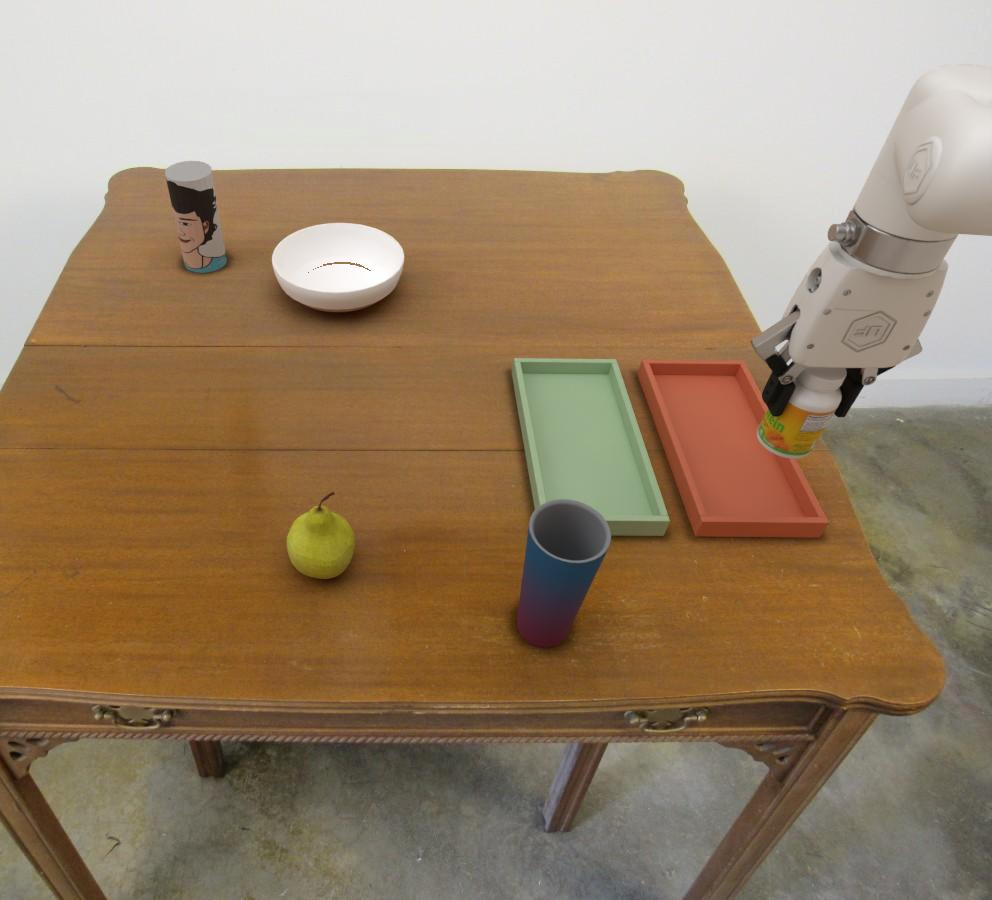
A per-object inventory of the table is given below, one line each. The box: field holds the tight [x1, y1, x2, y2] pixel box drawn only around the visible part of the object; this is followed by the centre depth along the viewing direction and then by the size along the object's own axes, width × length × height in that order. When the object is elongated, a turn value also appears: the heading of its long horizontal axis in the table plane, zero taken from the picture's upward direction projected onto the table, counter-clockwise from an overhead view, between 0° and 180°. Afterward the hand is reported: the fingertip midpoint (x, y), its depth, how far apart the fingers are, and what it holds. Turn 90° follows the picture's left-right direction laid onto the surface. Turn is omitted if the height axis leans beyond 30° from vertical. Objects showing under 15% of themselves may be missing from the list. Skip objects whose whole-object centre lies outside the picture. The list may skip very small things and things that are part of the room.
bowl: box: [271, 222, 405, 313], centre depth 111 cm, size 20×20×6 cm
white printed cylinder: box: [164, 160, 228, 274], centre depth 113 cm, size 7×7×15 cm
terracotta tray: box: [636, 358, 830, 539], centre depth 89 cm, size 28×14×3 cm, turn 0°
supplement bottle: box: [757, 367, 847, 460], centre depth 72 cm, size 5×5×10 cm
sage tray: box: [511, 357, 671, 537], centre depth 89 cm, size 28×14×3 cm, turn 0°
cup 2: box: [516, 499, 612, 649], centre depth 67 cm, size 7×7×15 cm
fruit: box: [286, 491, 356, 580], centre depth 73 cm, size 7×7×12 cm
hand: (802, 405), depth 72 cm, fingers closed on supplement bottle, 5 cm apart
